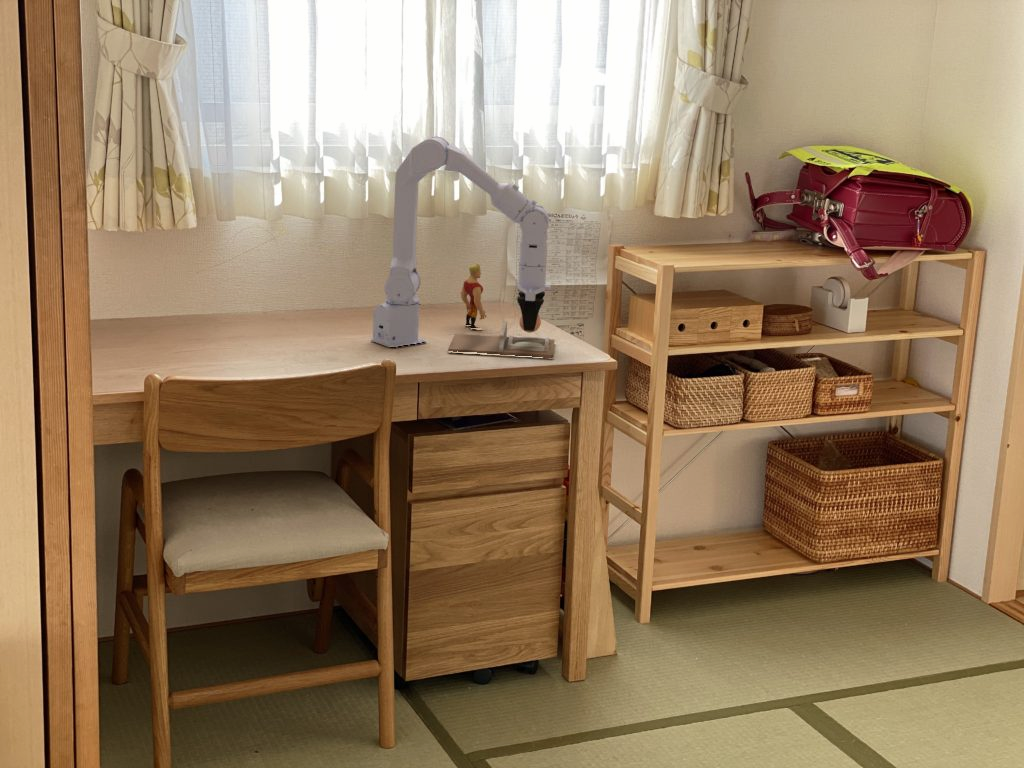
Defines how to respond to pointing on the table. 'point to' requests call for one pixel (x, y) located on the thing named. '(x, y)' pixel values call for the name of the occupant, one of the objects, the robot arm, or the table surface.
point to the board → (503, 344)
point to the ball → (535, 326)
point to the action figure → (473, 296)
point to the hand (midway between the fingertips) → (529, 327)
